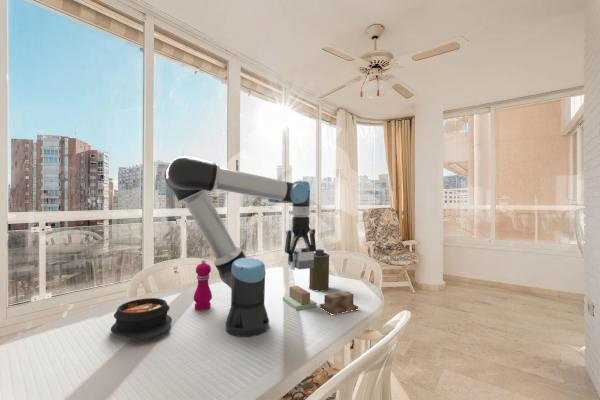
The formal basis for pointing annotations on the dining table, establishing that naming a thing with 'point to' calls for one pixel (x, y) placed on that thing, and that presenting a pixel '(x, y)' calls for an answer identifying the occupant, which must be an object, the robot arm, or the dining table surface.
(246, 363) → the dining table surface
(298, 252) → the cover plate
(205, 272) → the pepper mill
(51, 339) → the dining table surface
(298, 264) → the base plate
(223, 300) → the dining table surface
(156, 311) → the casserole
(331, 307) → the stand
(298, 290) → the stand
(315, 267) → the canister
